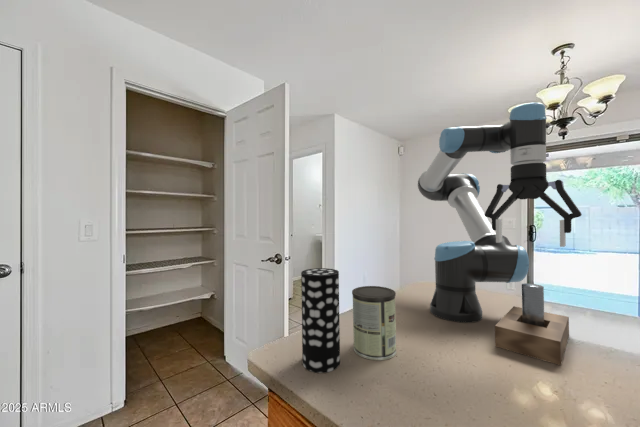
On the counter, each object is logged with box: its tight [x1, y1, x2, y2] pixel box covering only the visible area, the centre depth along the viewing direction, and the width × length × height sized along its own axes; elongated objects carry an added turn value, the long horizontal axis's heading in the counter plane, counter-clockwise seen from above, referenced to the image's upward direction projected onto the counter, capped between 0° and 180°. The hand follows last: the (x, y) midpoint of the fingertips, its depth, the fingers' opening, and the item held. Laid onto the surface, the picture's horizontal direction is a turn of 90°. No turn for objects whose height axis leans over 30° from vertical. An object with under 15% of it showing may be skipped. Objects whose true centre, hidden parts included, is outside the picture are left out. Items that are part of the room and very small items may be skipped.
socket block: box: [494, 305, 570, 366], centre depth 69 cm, size 12×20×5 cm, turn 134°
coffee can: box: [351, 285, 397, 361], centre depth 65 cm, size 10×10×14 cm
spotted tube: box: [300, 267, 341, 374], centre depth 60 cm, size 8×8×20 cm
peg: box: [521, 282, 545, 327], centre depth 69 cm, size 4×4×14 cm
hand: (528, 244), depth 72 cm, fingers open, 13 cm apart
